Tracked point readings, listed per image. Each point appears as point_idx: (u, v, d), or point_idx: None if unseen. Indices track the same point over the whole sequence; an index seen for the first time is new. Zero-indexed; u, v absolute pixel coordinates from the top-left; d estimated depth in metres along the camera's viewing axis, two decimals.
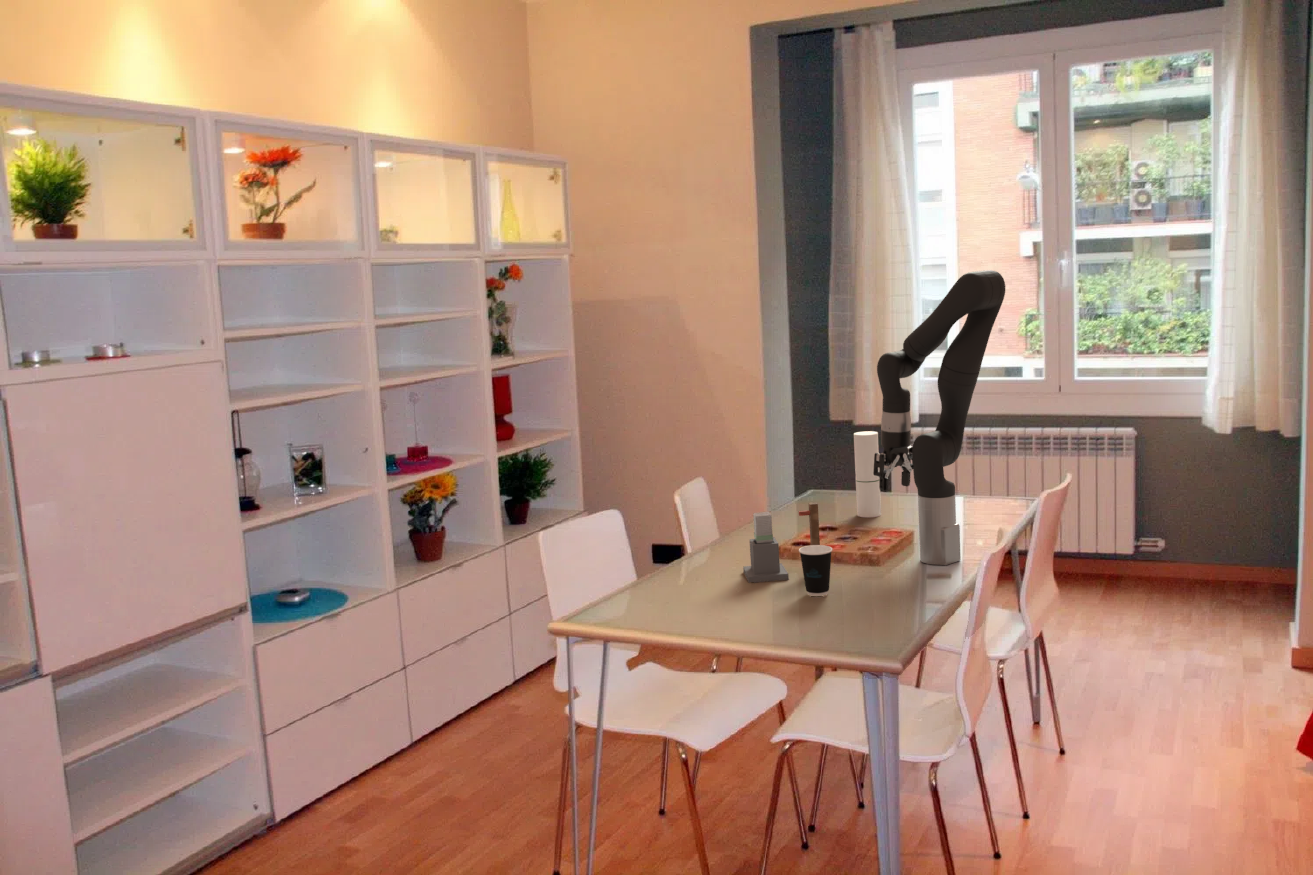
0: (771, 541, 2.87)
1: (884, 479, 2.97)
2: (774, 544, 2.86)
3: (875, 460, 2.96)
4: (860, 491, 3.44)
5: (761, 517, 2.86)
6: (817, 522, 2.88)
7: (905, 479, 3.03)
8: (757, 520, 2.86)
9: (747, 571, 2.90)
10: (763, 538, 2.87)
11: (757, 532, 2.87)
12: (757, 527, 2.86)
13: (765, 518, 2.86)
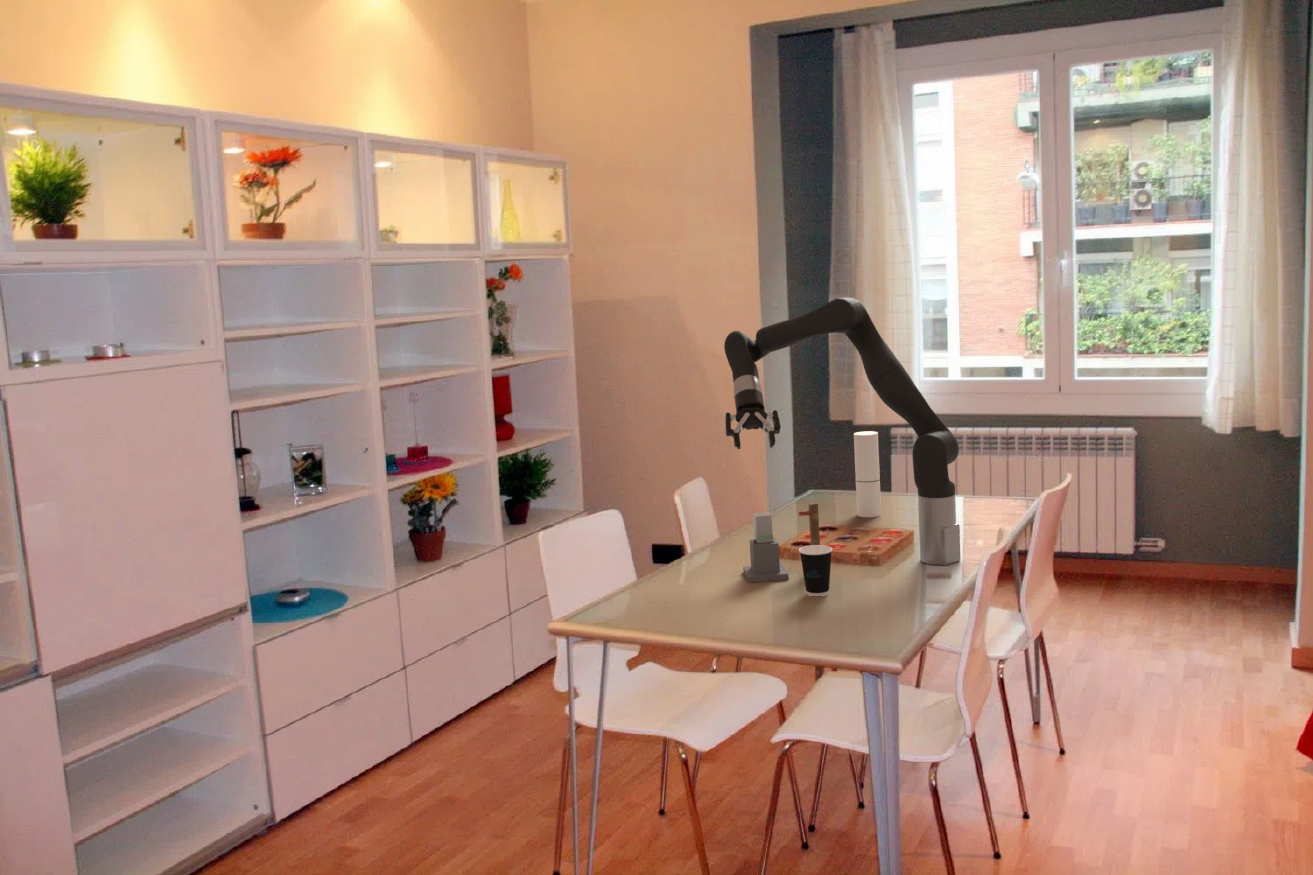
0: (771, 541, 2.87)
1: (735, 435, 2.99)
2: (774, 544, 2.86)
3: (725, 422, 3.03)
4: (860, 491, 3.44)
5: (761, 517, 2.86)
6: (817, 522, 2.88)
7: (769, 439, 2.99)
8: (757, 520, 2.86)
9: (747, 571, 2.90)
10: (763, 538, 2.87)
11: (757, 532, 2.87)
12: (757, 527, 2.86)
13: (765, 518, 2.86)
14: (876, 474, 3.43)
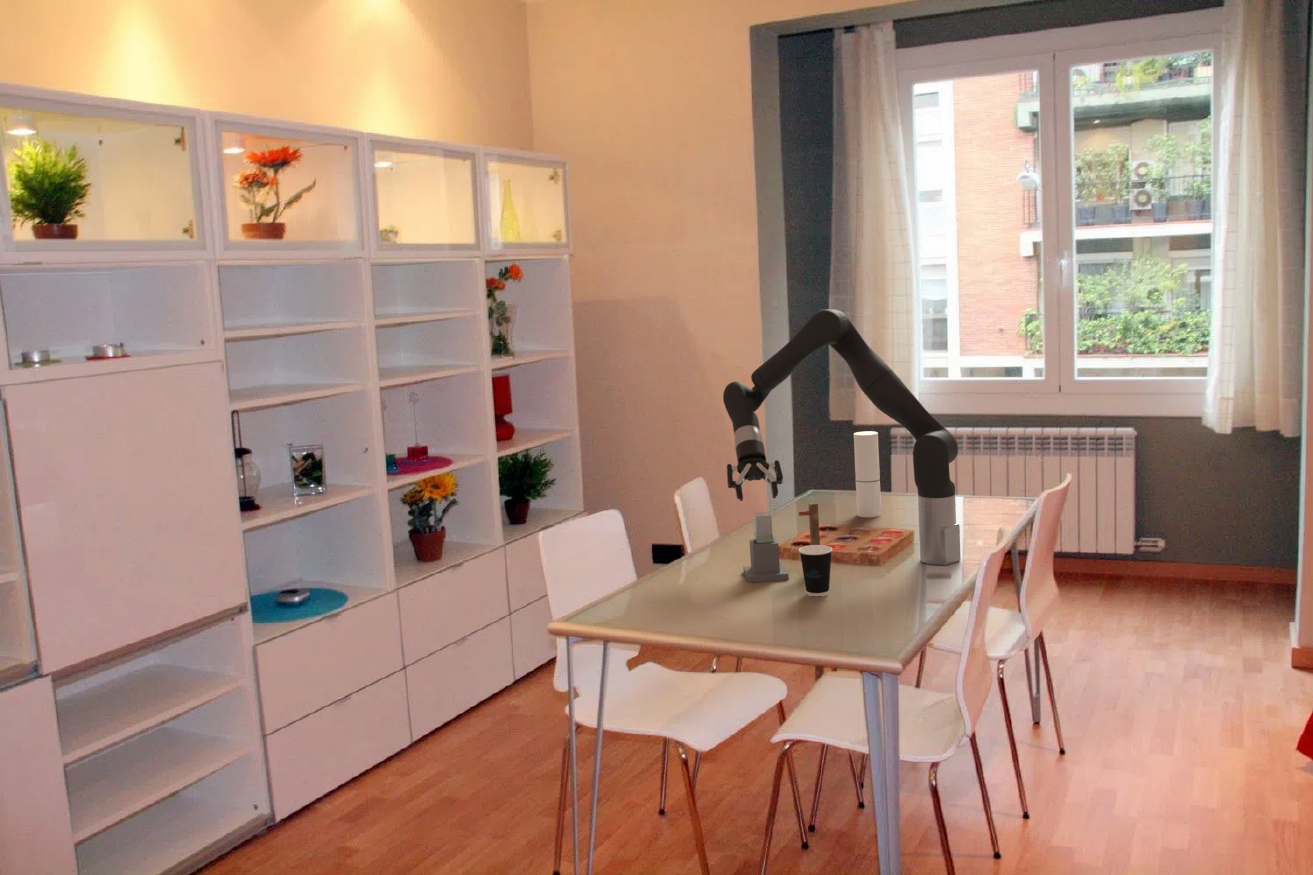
0: (771, 541, 2.87)
1: (737, 486, 2.95)
2: (774, 544, 2.86)
3: None
4: (860, 491, 3.44)
5: (761, 517, 2.86)
6: (817, 522, 2.88)
7: (772, 490, 2.95)
8: (757, 520, 2.86)
9: (747, 571, 2.90)
10: (763, 538, 2.87)
11: (757, 532, 2.87)
12: (757, 527, 2.86)
13: (765, 518, 2.86)
14: (876, 474, 3.43)
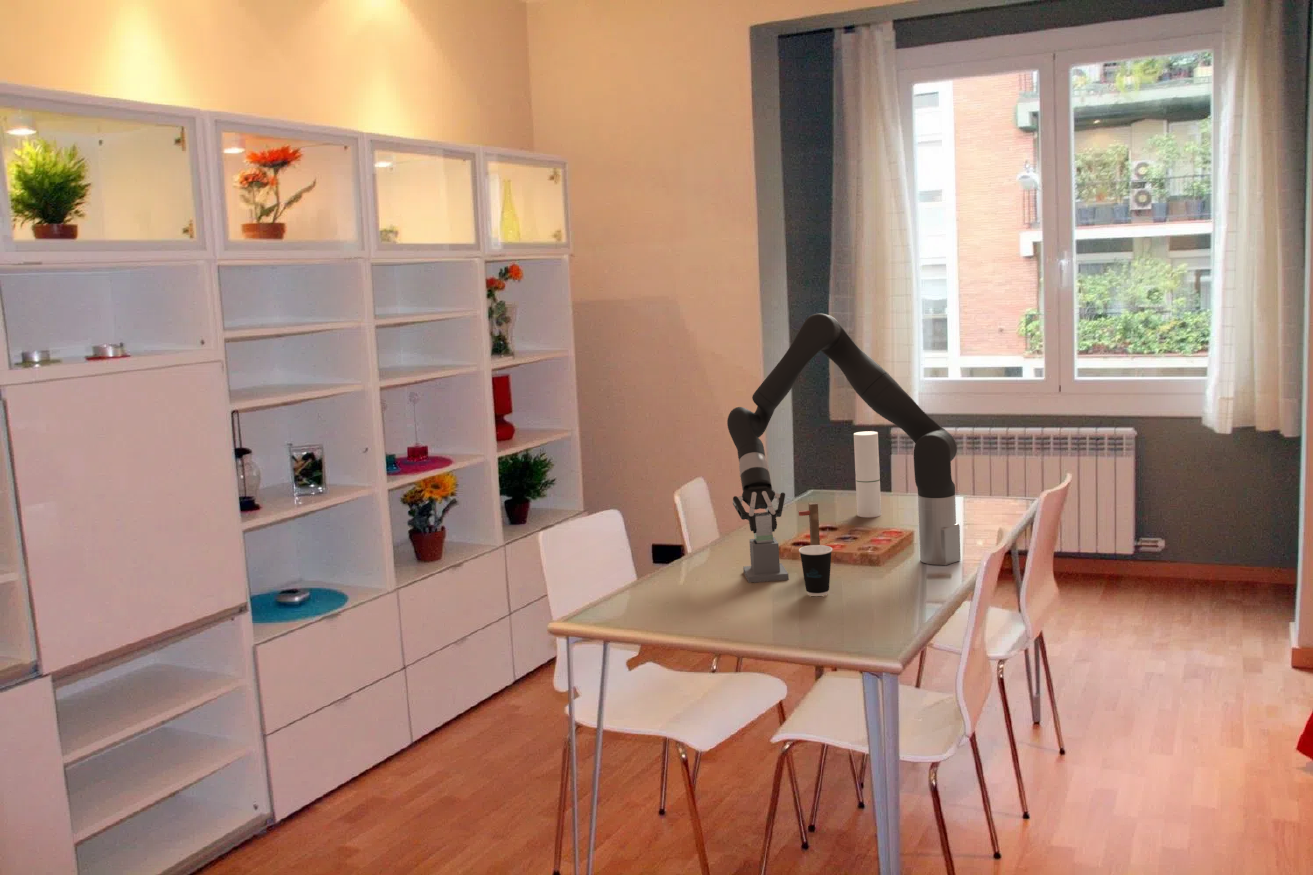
0: (771, 541, 2.87)
1: (750, 518, 2.88)
2: (774, 544, 2.86)
3: (735, 507, 2.92)
4: (860, 491, 3.44)
5: (761, 517, 2.86)
6: (817, 522, 2.88)
7: None
8: (757, 520, 2.86)
9: (747, 571, 2.90)
10: (763, 538, 2.87)
11: (757, 532, 2.87)
12: (757, 527, 2.86)
13: (765, 518, 2.86)
14: (876, 474, 3.43)
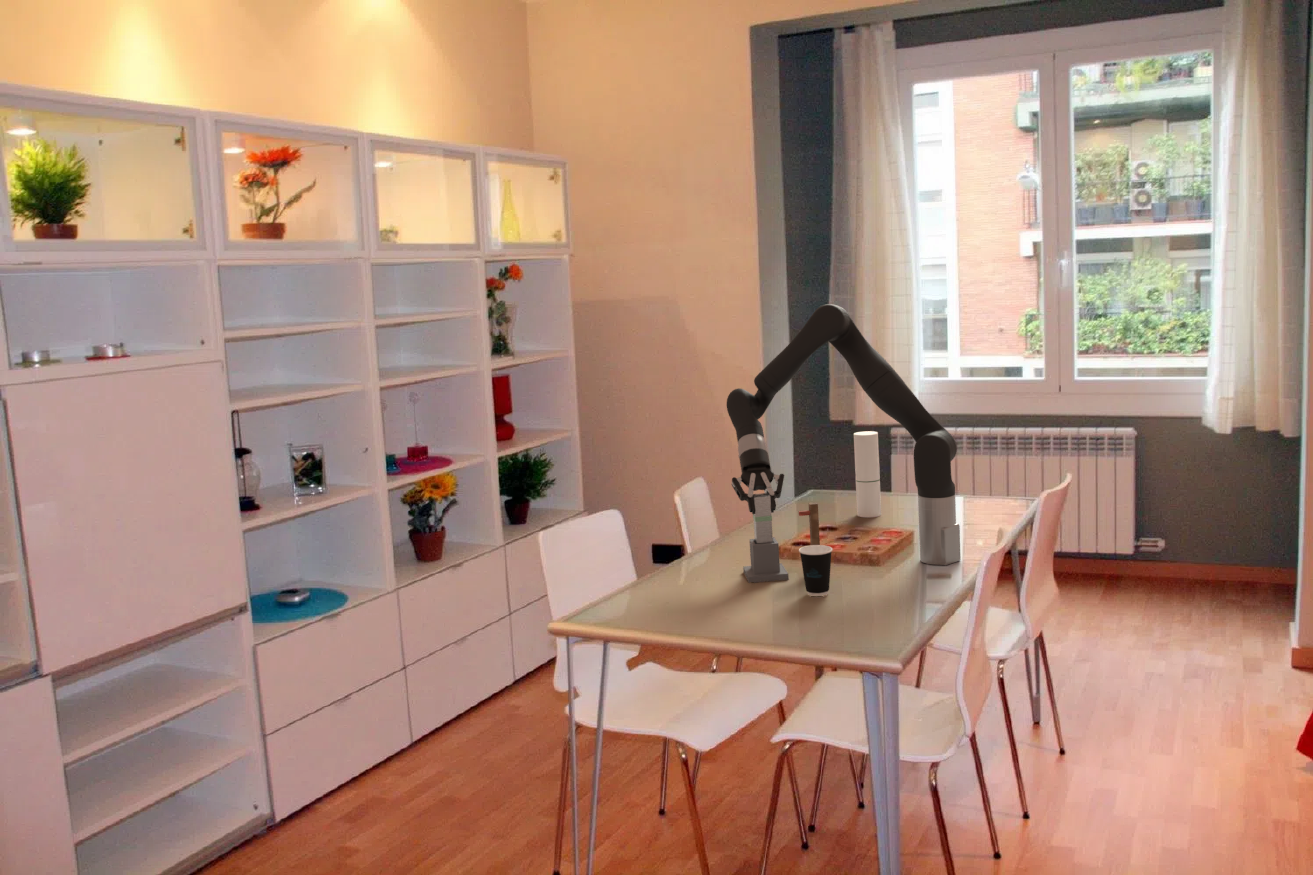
0: (770, 522, 2.86)
1: (749, 499, 2.87)
2: (774, 544, 2.86)
3: (734, 488, 2.91)
4: (860, 491, 3.44)
5: (760, 498, 2.85)
6: (817, 522, 2.88)
7: None
8: (756, 501, 2.85)
9: (747, 571, 2.90)
10: (762, 519, 2.86)
11: (756, 513, 2.86)
12: (756, 508, 2.86)
13: (764, 499, 2.85)
14: (876, 474, 3.43)
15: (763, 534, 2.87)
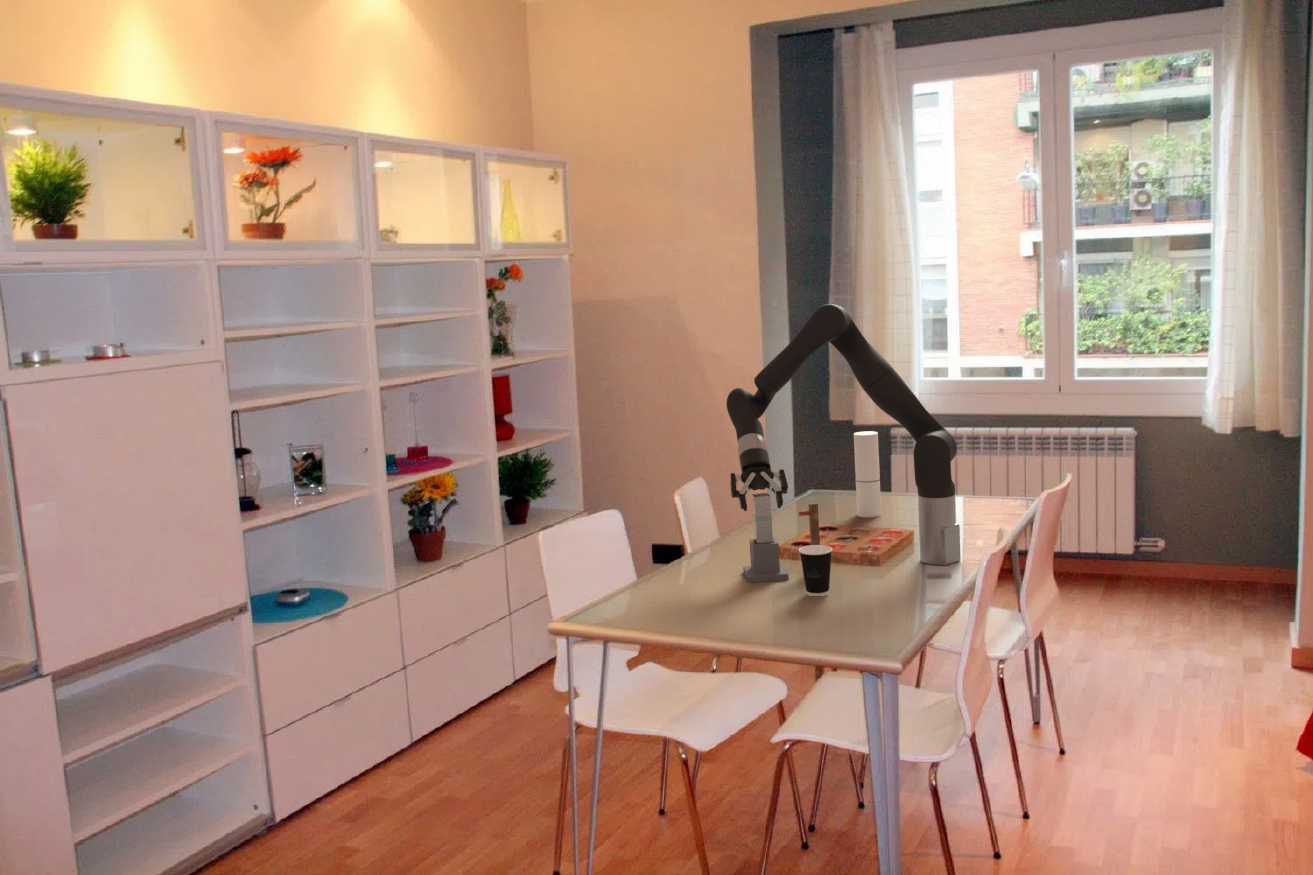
0: (770, 522, 2.86)
1: (741, 496, 2.88)
2: (774, 544, 2.86)
3: (730, 483, 2.92)
4: (860, 491, 3.44)
5: (760, 498, 2.85)
6: (817, 522, 2.88)
7: (777, 500, 2.88)
8: (756, 501, 2.85)
9: (747, 571, 2.90)
10: (762, 518, 2.86)
11: (756, 513, 2.86)
12: (756, 508, 2.86)
13: (764, 498, 2.85)
14: (876, 474, 3.43)
15: (763, 534, 2.87)
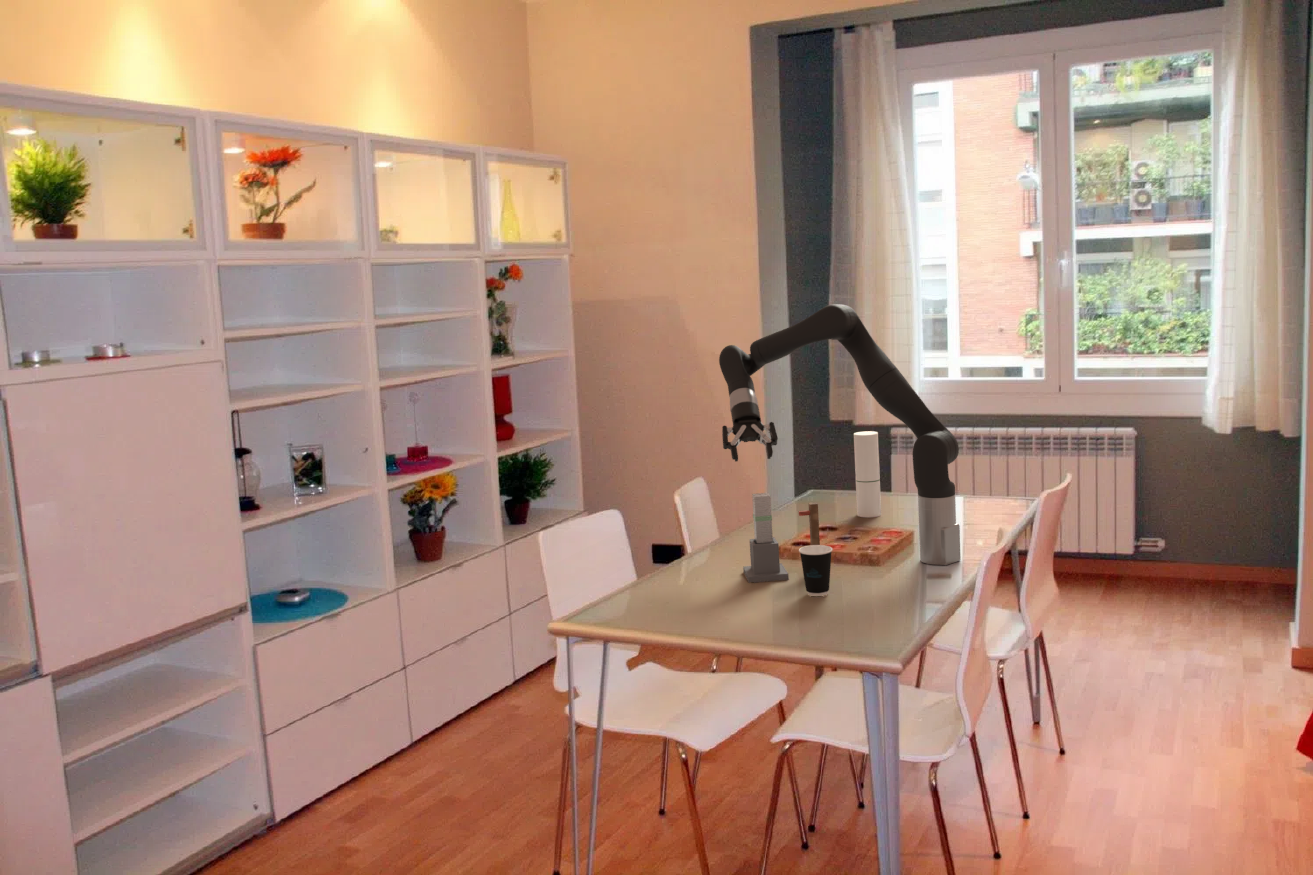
0: (770, 522, 2.86)
1: (732, 447, 2.99)
2: (774, 544, 2.86)
3: (722, 435, 3.03)
4: (860, 491, 3.44)
5: (760, 498, 2.85)
6: (817, 522, 2.88)
7: (766, 451, 2.99)
8: (756, 501, 2.85)
9: (747, 571, 2.90)
10: (762, 518, 2.86)
11: (756, 513, 2.86)
12: (756, 508, 2.86)
13: (764, 498, 2.85)
14: (876, 474, 3.43)
15: (763, 534, 2.87)
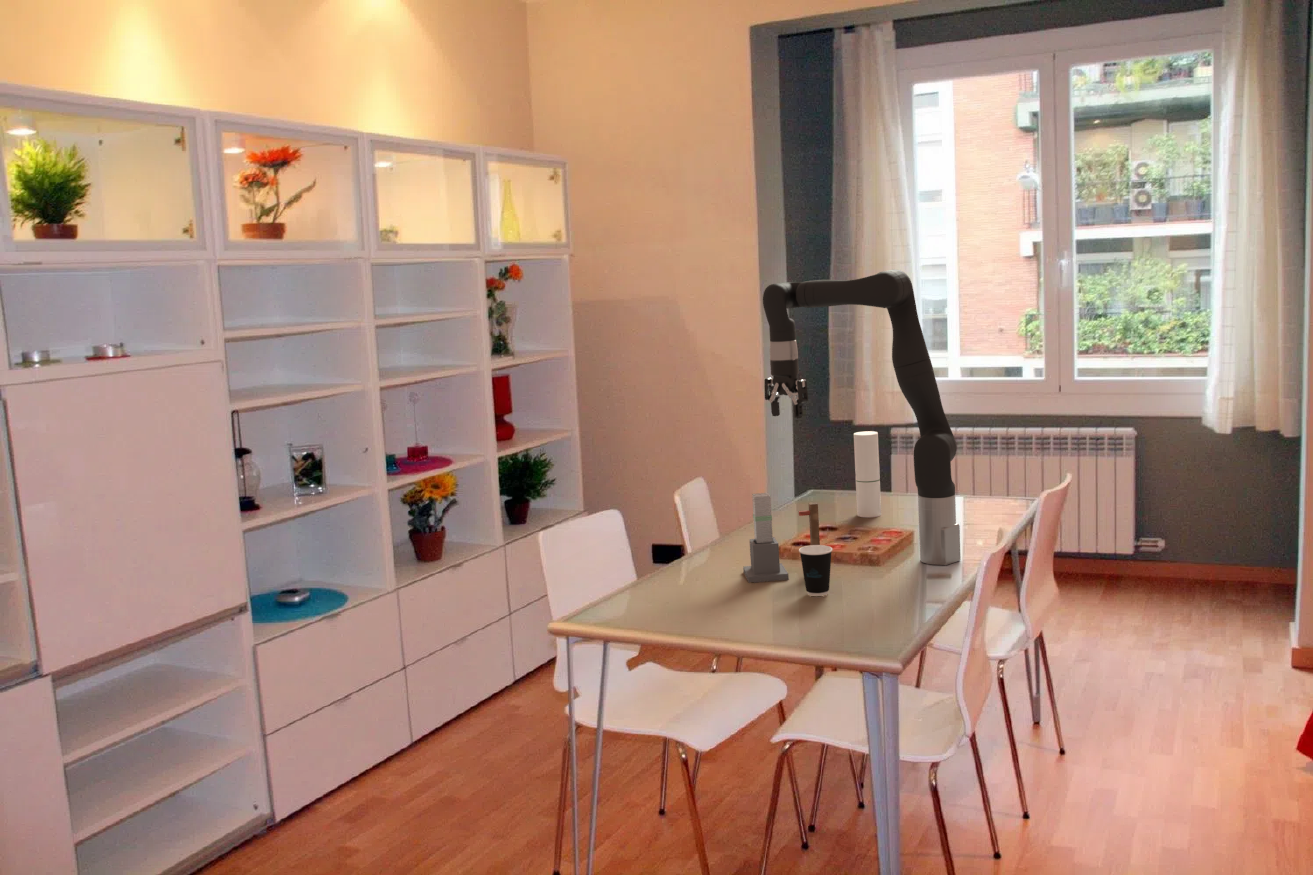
0: (770, 522, 2.86)
1: (771, 403, 3.15)
2: (774, 544, 2.86)
3: None
4: (860, 491, 3.44)
5: (760, 498, 2.85)
6: (817, 522, 2.88)
7: None
8: (756, 501, 2.85)
9: (747, 571, 2.90)
10: (762, 518, 2.86)
11: (756, 513, 2.86)
12: (756, 508, 2.86)
13: (764, 498, 2.85)
14: (876, 474, 3.43)
15: (763, 534, 2.87)
